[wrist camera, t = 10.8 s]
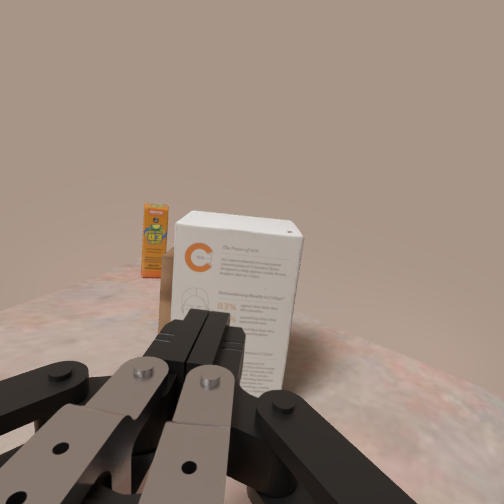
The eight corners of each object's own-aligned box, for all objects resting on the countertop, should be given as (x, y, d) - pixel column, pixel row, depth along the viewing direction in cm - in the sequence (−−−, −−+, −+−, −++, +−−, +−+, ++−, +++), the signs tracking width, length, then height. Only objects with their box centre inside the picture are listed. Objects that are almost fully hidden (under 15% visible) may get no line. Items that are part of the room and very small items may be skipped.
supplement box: (140, 278, 48) (142, 205, 45) (141, 270, 51) (144, 202, 48) (165, 279, 49) (168, 207, 46) (165, 271, 52) (168, 204, 49)
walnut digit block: (219, 319, 38) (225, 249, 36) (209, 342, 33) (216, 262, 31) (174, 313, 39) (178, 243, 37) (158, 335, 33) (162, 255, 32)
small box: (273, 365, 31) (294, 219, 27) (279, 416, 24) (306, 235, 21) (181, 357, 30) (191, 208, 27) (163, 406, 24) (173, 221, 21)
